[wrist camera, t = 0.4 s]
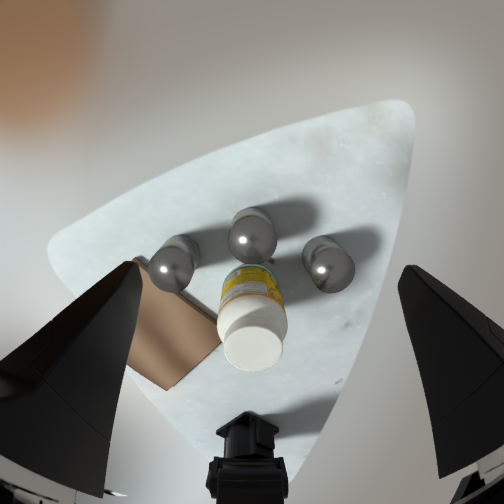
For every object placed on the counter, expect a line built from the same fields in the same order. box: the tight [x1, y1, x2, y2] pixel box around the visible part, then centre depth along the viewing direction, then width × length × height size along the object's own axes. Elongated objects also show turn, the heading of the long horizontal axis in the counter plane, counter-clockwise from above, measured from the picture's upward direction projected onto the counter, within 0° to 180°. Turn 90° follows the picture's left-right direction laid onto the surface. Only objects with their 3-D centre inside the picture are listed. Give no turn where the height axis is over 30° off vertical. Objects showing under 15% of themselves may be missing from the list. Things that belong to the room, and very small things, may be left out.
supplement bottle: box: [217, 264, 288, 371], centre depth 23 cm, size 5×5×10 cm
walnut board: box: [126, 258, 222, 391], centre depth 29 cm, size 12×12×1 cm
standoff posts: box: [148, 207, 355, 293], centre depth 24 cm, size 6×17×4 cm, turn 89°
